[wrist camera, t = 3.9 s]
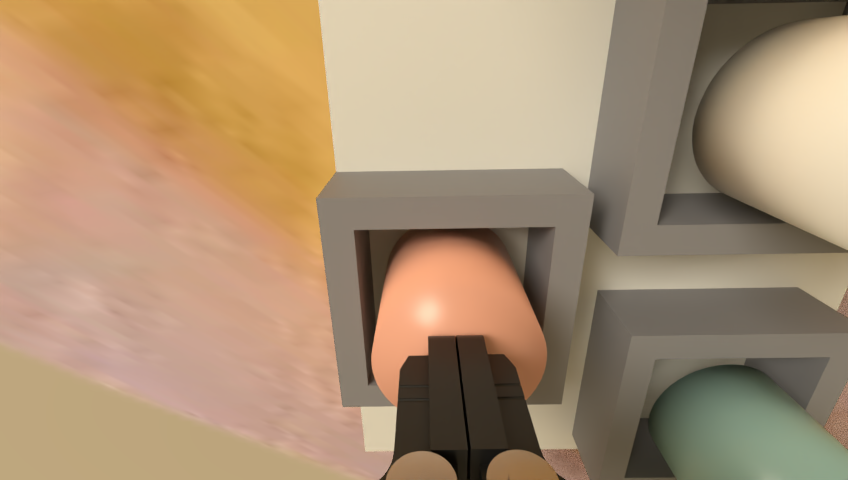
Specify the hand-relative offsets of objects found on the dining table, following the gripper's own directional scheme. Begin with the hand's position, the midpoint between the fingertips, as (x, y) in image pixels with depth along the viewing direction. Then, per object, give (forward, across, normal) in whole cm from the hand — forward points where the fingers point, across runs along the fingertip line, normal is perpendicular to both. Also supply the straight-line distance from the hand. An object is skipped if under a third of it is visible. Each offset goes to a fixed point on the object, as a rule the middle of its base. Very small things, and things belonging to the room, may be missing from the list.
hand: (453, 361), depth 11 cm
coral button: (+5, 0, 0) cm, 5 cm away
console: (+7, -6, -1) cm, 10 cm away
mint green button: (+3, -10, +5) cm, 12 cm away
